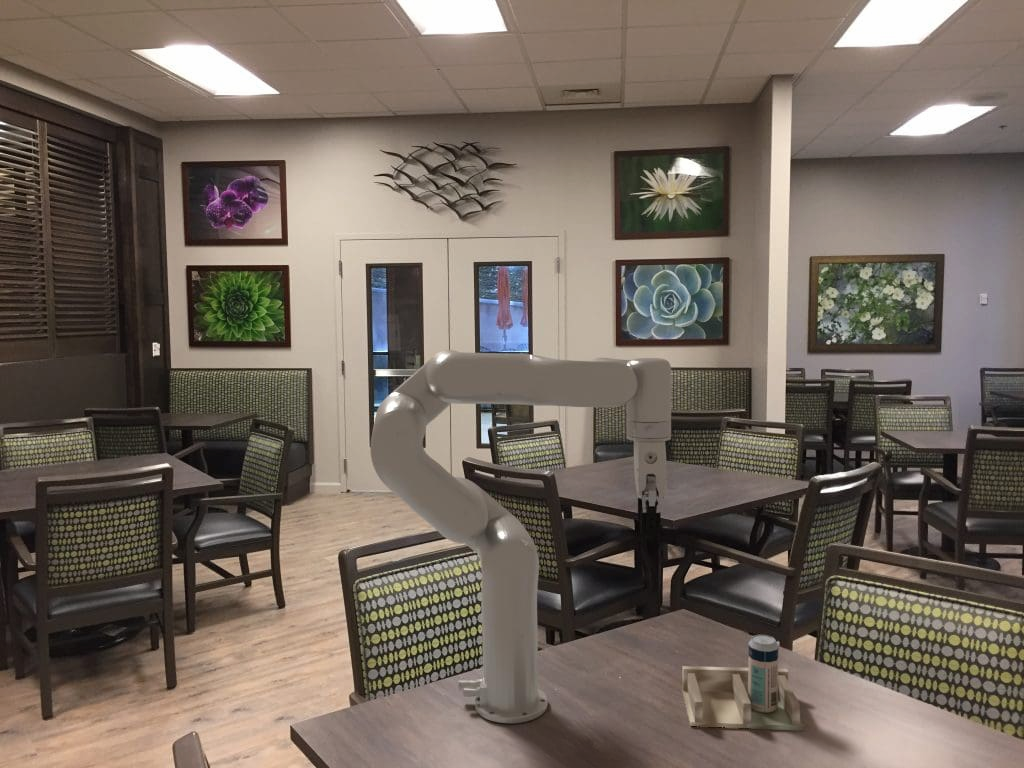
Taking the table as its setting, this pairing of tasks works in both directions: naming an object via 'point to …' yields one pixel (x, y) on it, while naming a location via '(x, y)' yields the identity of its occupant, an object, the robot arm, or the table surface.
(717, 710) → the comb rack
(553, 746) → the table surface
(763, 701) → the beer can
